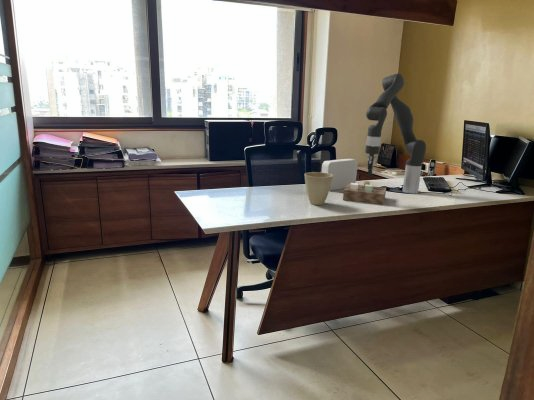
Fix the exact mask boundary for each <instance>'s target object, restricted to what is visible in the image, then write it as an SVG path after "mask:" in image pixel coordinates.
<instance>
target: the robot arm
mask: <svg viewBox="0 0 534 400" xmlns="http://www.w3.org/2000/svg"><path fill="white" fill-rule="evenodd" d="M381 85H382V88H383V92H382V93H381V94H380V95H379V96H378V97H377V100H376V101H375V102H374V103H373V104H371V105H370V106H369V107H368V108H367V110H366V113H365V116H366V119H368V121H376V122H377V123H376V124H371V125H369V126H368V127H367V137H366V142H365V150H364V152H365V154H367V155H369V156H367V176H368V177H372V176H373V169H374V166H375V161H376V158H377V157H376V156H375V155H379V154H380V150H381V141H382V139H381V138H382V129H383V126H384V123H385V121H386V119H387V116H388V111H387V109H388V108H389V107H390V106H391V108H392V111H393V114H394V118H395V119H396V120H395V121H396V123H397V125H398V127H399V131H400V133H401V135H402V136H401V137H402V138H403V143H404V147H405V150H406V151H407V153H409V154H411V155H410V158H409V159H407V160H406V161H405V169H404V170H405V171H404V177H403V185H402V192H403V193H406V194H415V195H416V194H417V195H418V194H419V188H420V181H421V173H422V172H421V171H422V167H423V166H422V165H423V163H424V160H425V157H426V156H425V155H426V151H427V145H426V142H425V141H424V140H422V139H418V138H416V135H415V133H414V130H413V129H414V127H413V126H414V116H413V114H412V111H411V108H410V107H409V105H407V104H406V103H405V102H403V101H402V100H401V99H399V97H397V94H399V92H400V91H401V90H402V89H403V87H404V85H405V79H404V77H403V75H402V74H400V73H395V74H391V75H389V76H386V77H384V78H382V81H381Z"/></svg>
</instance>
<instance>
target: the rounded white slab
mask: <svg viewBox="0 0 534 400" xmlns="http://www.w3.org/2000/svg"><path fill="white" fill-rule="evenodd" d="M321 164H322V165H321V172H322V173H329V174H332V175H333V177H332V182H331V186H330V189H329V192H330V191H335V190H340V189H345V188H346V186H347V185H348V184H351V183H357V182H356V180H357V171H358V160H357V159H354V158H341V159H332V160H324V161H323V163H321Z"/></svg>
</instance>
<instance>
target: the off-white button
mask: <svg viewBox="0 0 534 400" xmlns="http://www.w3.org/2000/svg"><path fill="white" fill-rule="evenodd" d="M358 185H359V183H357V182H356V183H351V184H350V190H358Z"/></svg>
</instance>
